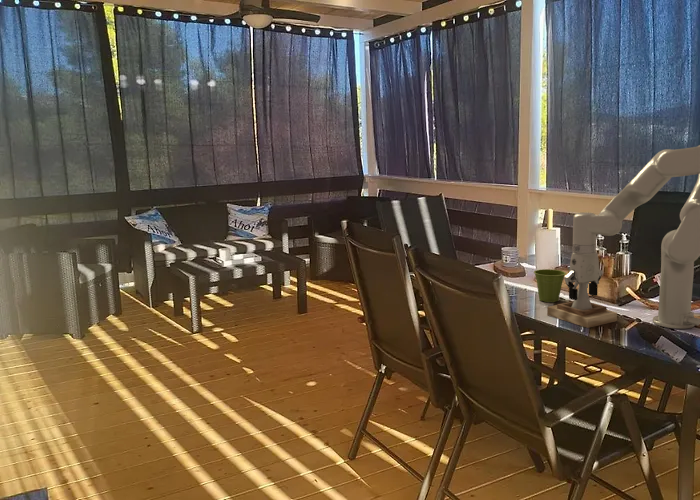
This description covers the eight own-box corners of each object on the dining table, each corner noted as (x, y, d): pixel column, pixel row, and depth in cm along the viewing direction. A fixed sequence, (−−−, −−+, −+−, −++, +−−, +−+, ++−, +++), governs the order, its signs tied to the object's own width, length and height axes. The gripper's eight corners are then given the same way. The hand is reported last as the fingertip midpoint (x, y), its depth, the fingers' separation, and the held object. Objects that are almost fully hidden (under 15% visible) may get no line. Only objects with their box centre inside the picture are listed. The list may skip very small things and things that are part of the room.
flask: (571, 311, 211) (572, 283, 210) (570, 306, 218) (571, 279, 216) (593, 313, 209) (595, 284, 207) (592, 307, 216) (593, 279, 214)
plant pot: (571, 303, 233) (572, 274, 231) (542, 305, 231) (543, 276, 229) (554, 295, 245) (555, 268, 243) (527, 297, 242) (528, 270, 240)
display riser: (616, 321, 209) (617, 308, 209) (587, 327, 203) (588, 314, 202) (575, 309, 225) (575, 297, 224) (547, 314, 219) (547, 302, 218)
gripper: (574, 253, 203) (573, 303, 206) (610, 247, 210) (609, 295, 213) (557, 250, 209) (556, 298, 212) (593, 244, 217) (591, 291, 220)
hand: (583, 297), depth 213 cm, fingers open, 9 cm apart
